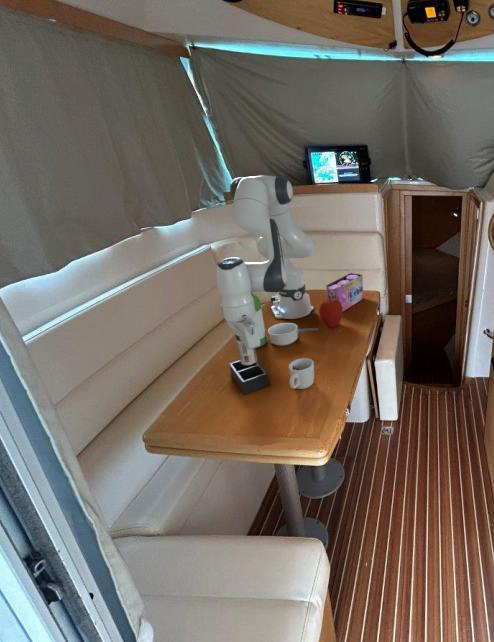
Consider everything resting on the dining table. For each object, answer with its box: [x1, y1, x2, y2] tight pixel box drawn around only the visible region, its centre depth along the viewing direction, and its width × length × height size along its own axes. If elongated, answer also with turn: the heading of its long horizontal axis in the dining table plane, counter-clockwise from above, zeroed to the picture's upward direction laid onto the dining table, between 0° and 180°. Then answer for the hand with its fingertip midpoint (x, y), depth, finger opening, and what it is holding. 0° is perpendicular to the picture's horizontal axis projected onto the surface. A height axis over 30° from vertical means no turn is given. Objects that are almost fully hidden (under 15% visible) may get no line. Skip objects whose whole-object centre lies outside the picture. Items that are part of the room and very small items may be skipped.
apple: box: [318, 298, 343, 328], centre depth 162 cm, size 10×10×14 cm
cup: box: [287, 357, 315, 390], centre depth 118 cm, size 11×8×8 cm
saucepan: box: [267, 322, 319, 346], centre depth 149 cm, size 12×20×6 cm, turn 92°
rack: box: [228, 359, 270, 395], centre depth 122 cm, size 15×8×5 cm, turn 43°
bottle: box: [251, 292, 268, 349], centre depth 141 cm, size 8×8×30 cm
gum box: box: [325, 272, 365, 313], centre depth 185 cm, size 24×8×14 cm, turn 159°
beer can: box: [234, 331, 258, 365], centre depth 116 cm, size 5×5×12 cm
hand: (246, 350), depth 116 cm, fingers closed on beer can, 5 cm apart
